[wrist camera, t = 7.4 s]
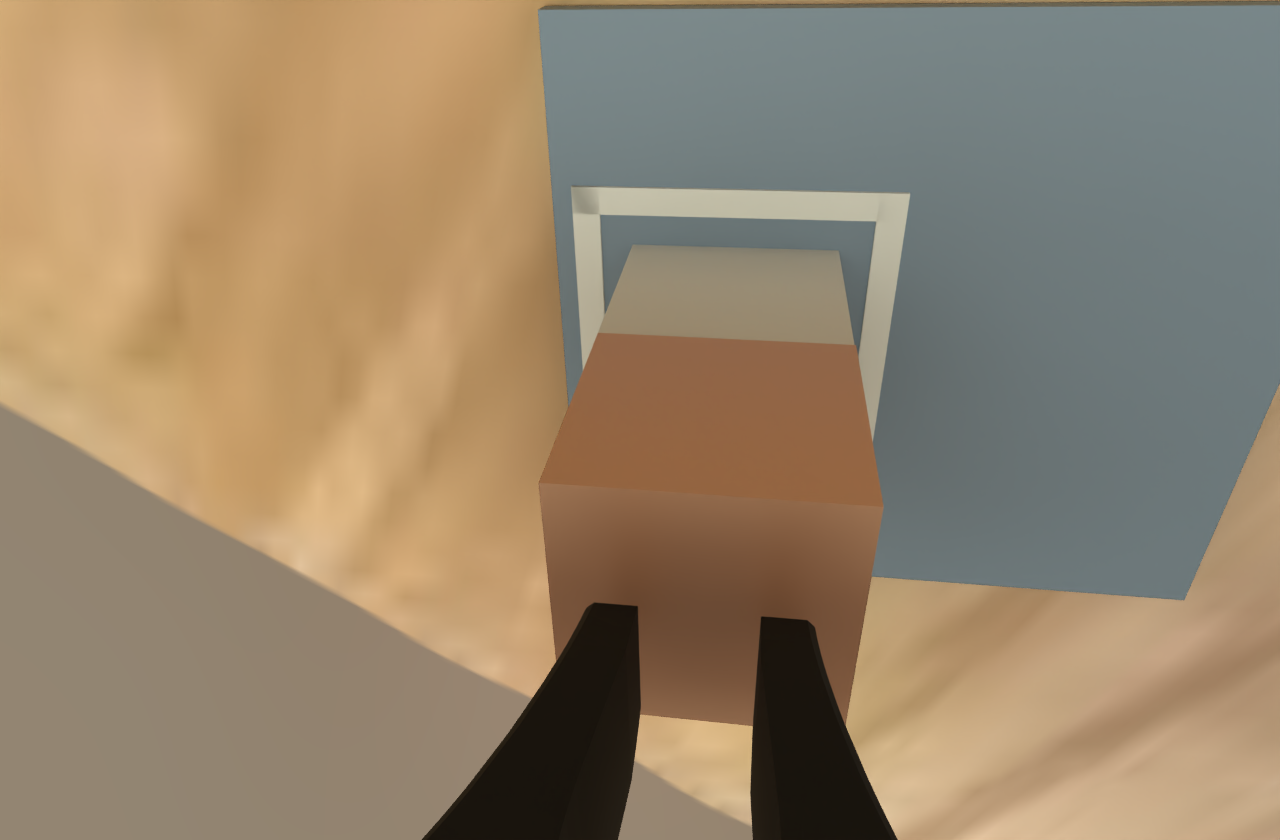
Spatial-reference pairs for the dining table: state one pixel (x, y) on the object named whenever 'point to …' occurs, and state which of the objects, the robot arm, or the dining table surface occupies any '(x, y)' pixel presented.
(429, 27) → the dining table surface
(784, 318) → the base block
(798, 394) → the top block
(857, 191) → the board
